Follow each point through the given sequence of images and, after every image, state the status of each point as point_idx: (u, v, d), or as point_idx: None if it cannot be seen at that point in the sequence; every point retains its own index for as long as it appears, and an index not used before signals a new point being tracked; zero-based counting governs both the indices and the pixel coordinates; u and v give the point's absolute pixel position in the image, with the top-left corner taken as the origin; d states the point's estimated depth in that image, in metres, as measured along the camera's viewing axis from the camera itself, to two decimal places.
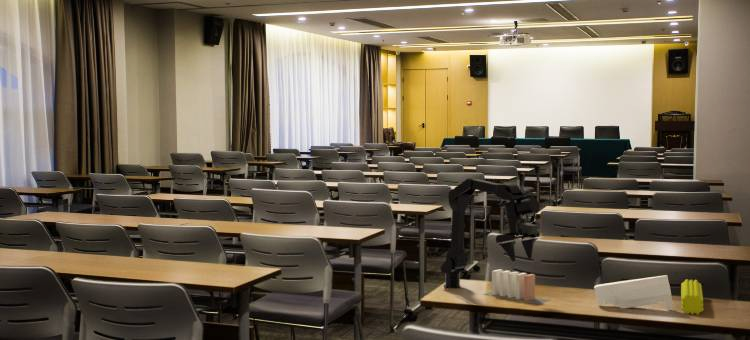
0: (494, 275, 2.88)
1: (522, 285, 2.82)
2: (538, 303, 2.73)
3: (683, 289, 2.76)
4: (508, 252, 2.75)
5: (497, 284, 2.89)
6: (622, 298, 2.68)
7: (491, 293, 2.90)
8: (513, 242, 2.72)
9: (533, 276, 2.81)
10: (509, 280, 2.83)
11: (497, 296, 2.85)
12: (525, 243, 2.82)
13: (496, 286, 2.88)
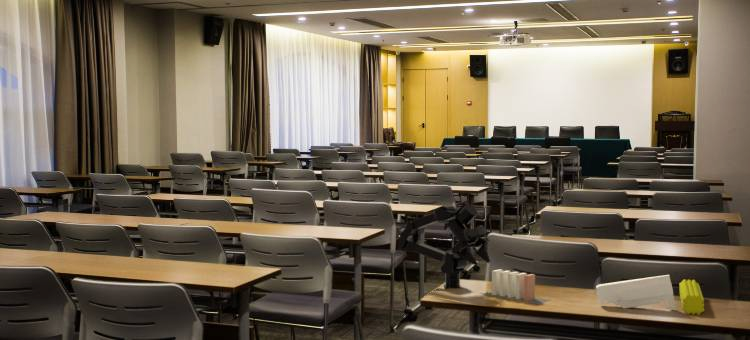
0: (494, 275, 2.88)
1: (522, 285, 2.82)
2: (538, 303, 2.73)
3: (682, 289, 2.76)
4: (468, 259, 2.92)
5: (497, 284, 2.89)
6: (624, 298, 2.68)
7: (491, 293, 2.90)
8: (468, 247, 2.91)
9: (533, 276, 2.81)
10: (509, 280, 2.83)
11: (497, 296, 2.85)
12: (479, 251, 3.00)
13: (496, 286, 2.88)
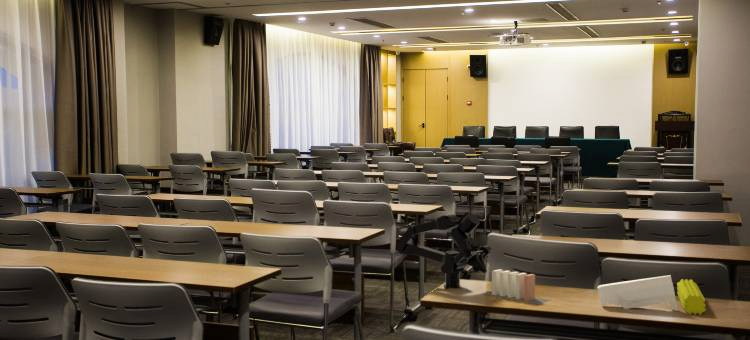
0: (494, 275, 2.88)
1: (522, 285, 2.82)
2: (538, 303, 2.73)
3: (682, 289, 2.76)
4: (477, 267, 2.94)
5: (497, 284, 2.89)
6: (625, 298, 2.67)
7: (491, 293, 2.90)
8: (477, 255, 2.93)
9: (533, 276, 2.81)
10: (509, 280, 2.83)
11: (497, 296, 2.85)
12: None
13: (496, 286, 2.88)
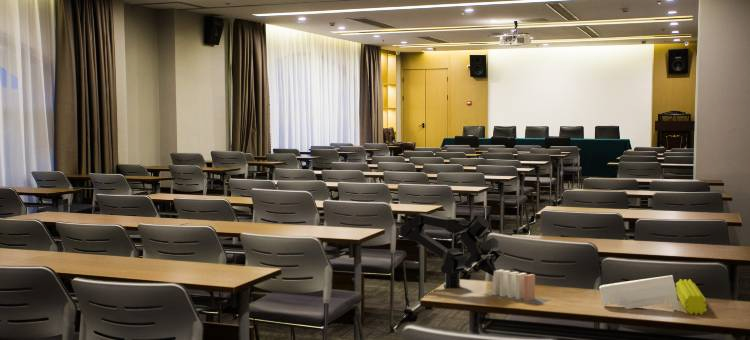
0: (496, 275, 2.87)
1: (522, 285, 2.82)
2: (538, 303, 2.73)
3: (682, 289, 2.75)
4: (488, 270, 2.91)
5: (498, 284, 2.88)
6: (627, 298, 2.67)
7: (491, 293, 2.90)
8: (487, 258, 2.90)
9: (533, 276, 2.81)
10: (509, 280, 2.83)
11: (497, 296, 2.85)
12: None
13: (497, 286, 2.88)
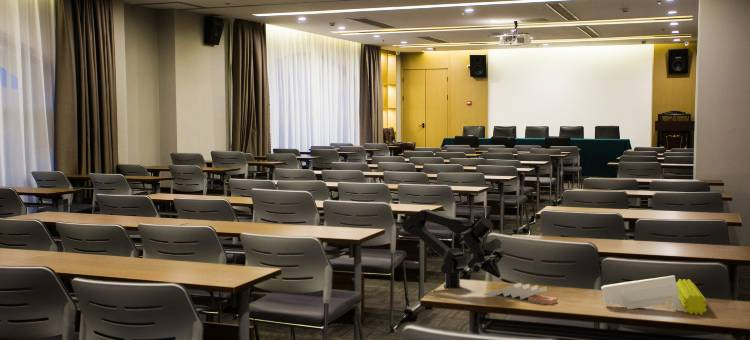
0: (511, 288, 2.83)
1: (534, 294, 2.79)
2: (538, 303, 2.73)
3: (681, 289, 2.75)
4: (491, 271, 2.90)
5: None
6: (629, 299, 2.67)
7: (491, 293, 2.90)
8: (491, 259, 2.89)
9: None
10: (525, 291, 2.79)
11: (497, 296, 2.85)
12: None
13: None
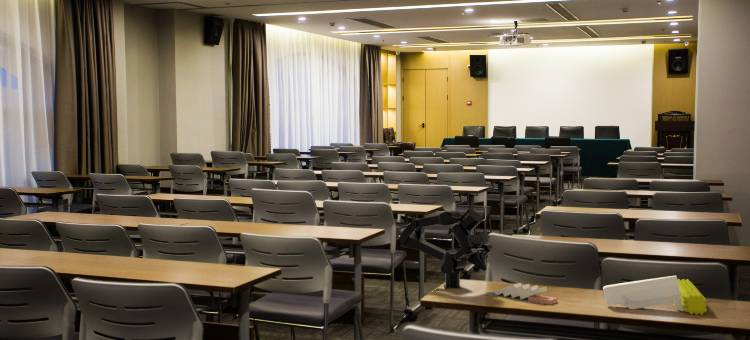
0: (511, 288, 2.83)
1: (534, 294, 2.79)
2: (538, 303, 2.73)
3: (681, 289, 2.75)
4: (477, 264, 2.93)
5: None
6: (631, 299, 2.67)
7: (491, 293, 2.90)
8: (478, 252, 2.93)
9: None
10: (525, 291, 2.79)
11: (497, 296, 2.85)
12: None
13: None
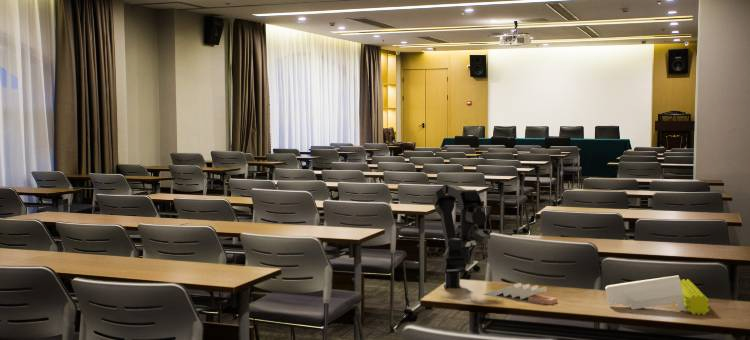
0: (511, 288, 2.83)
1: (534, 294, 2.79)
2: (538, 303, 2.73)
3: (682, 289, 2.75)
4: (463, 254, 2.89)
5: None
6: (634, 298, 2.67)
7: (491, 293, 2.90)
8: (470, 247, 2.86)
9: None
10: (525, 291, 2.79)
11: (497, 296, 2.85)
12: None
13: None
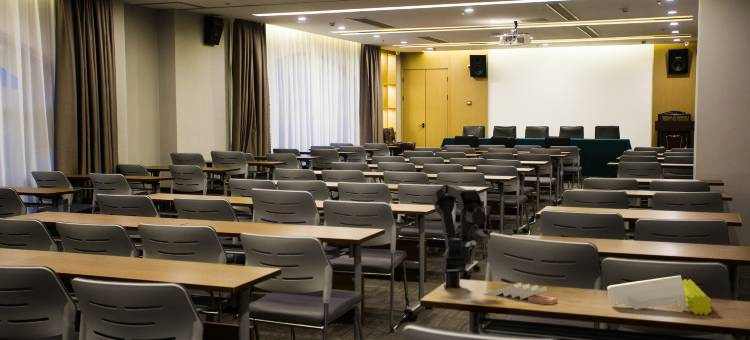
0: (511, 288, 2.83)
1: (534, 294, 2.79)
2: (538, 303, 2.73)
3: (684, 289, 2.75)
4: (463, 254, 2.89)
5: None
6: (636, 299, 2.66)
7: (491, 293, 2.90)
8: (470, 247, 2.86)
9: None
10: (525, 291, 2.79)
11: (497, 296, 2.85)
12: None
13: None
